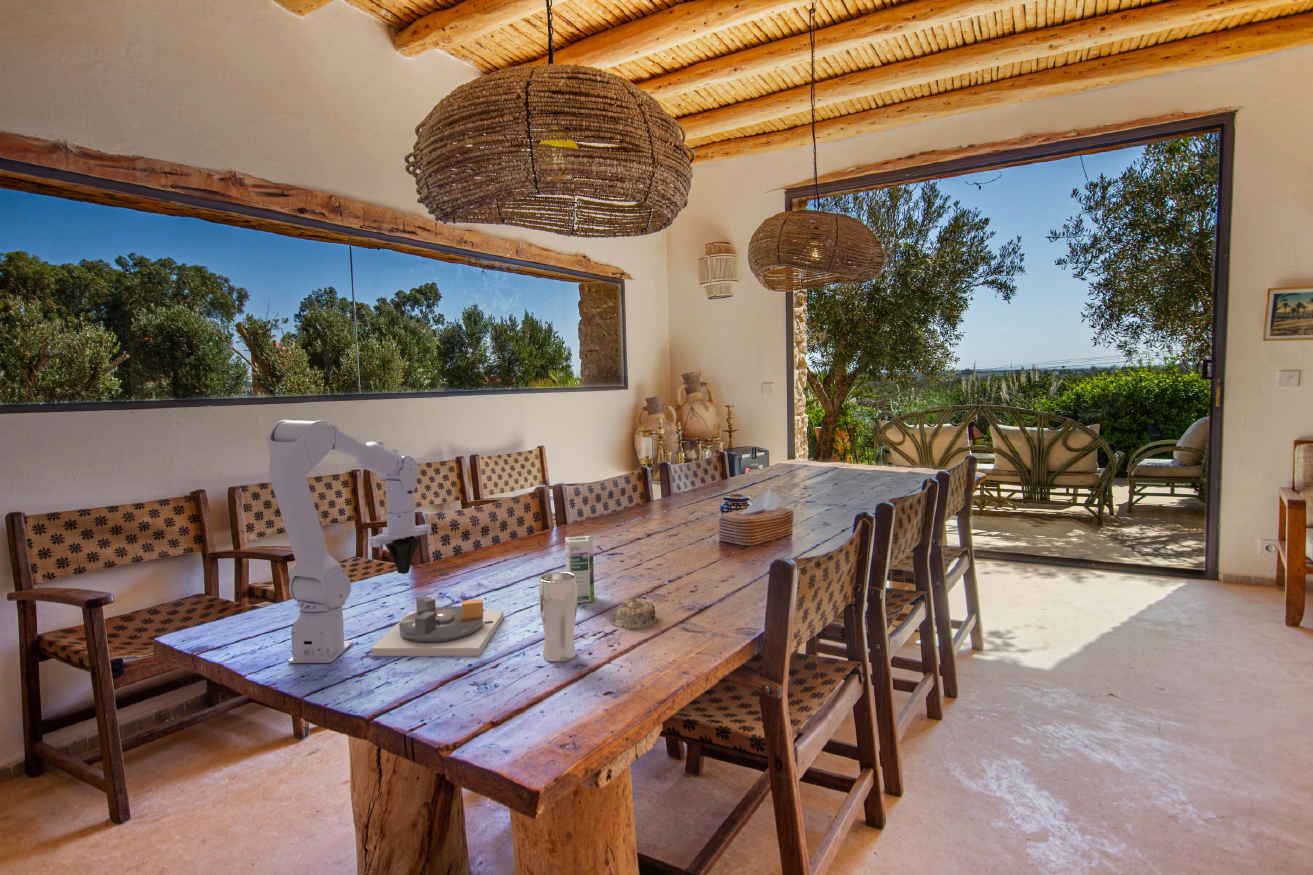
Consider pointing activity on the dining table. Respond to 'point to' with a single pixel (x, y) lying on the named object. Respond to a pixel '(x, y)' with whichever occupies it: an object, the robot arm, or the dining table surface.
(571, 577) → the beer glass
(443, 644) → the plate
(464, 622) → the rotary indexing table
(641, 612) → the cake
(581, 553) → the syrup box
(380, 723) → the dining table surface
